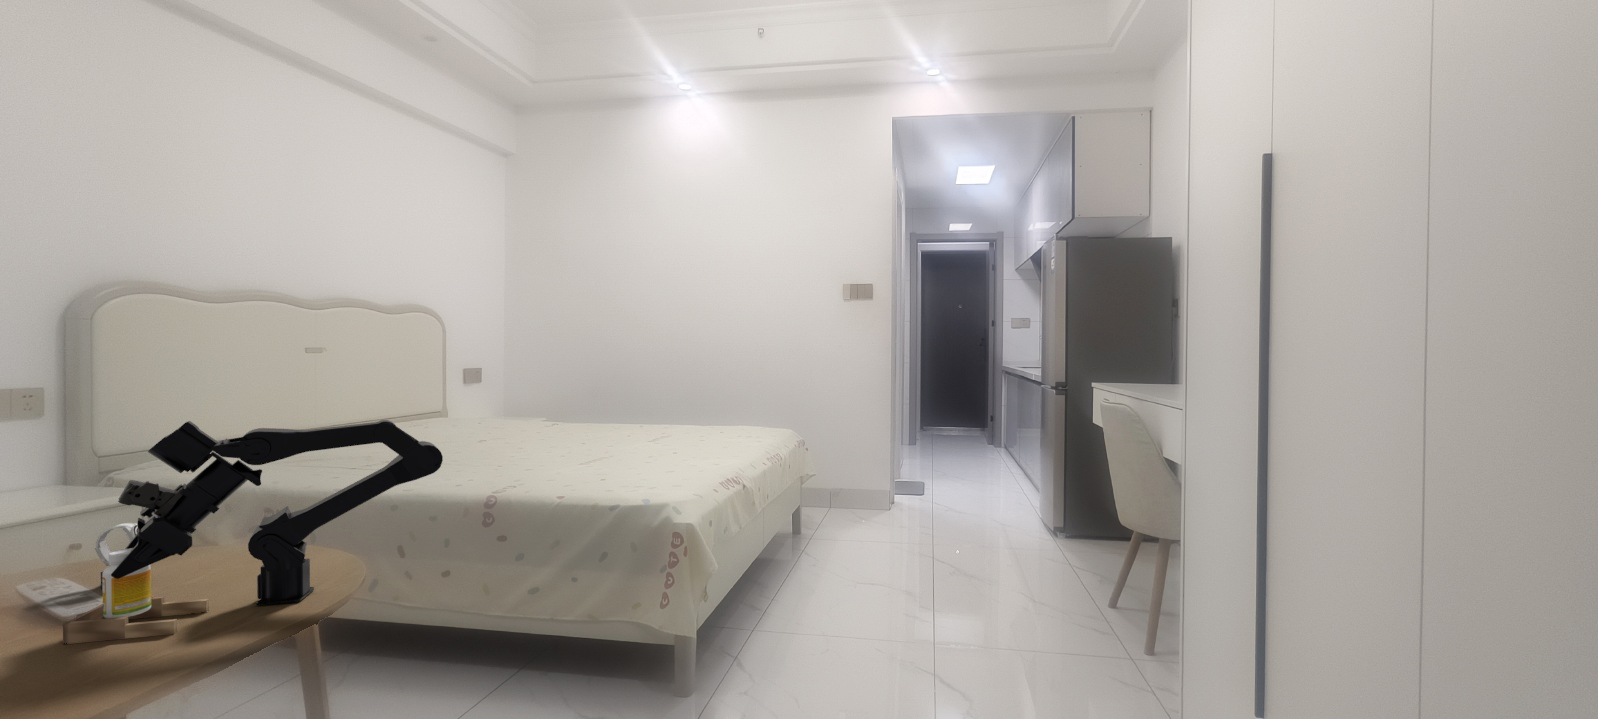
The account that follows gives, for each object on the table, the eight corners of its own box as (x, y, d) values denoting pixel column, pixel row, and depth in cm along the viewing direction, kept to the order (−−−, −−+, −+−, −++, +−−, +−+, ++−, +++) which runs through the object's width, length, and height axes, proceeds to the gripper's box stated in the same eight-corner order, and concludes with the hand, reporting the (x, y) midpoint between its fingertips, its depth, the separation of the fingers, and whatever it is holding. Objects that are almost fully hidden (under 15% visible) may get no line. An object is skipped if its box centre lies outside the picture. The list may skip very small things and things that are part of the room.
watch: (144, 585, 125) (143, 526, 125) (88, 590, 123) (87, 529, 122) (161, 575, 130) (161, 518, 130) (108, 580, 128) (108, 522, 128)
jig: (209, 610, 113) (209, 592, 113) (174, 633, 104) (173, 614, 104) (108, 619, 110) (108, 600, 109) (63, 644, 100) (62, 624, 100)
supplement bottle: (161, 606, 109) (160, 546, 108) (124, 620, 103) (123, 556, 103) (130, 605, 109) (129, 545, 109) (92, 619, 104) (91, 555, 104)
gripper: (158, 454, 115) (63, 531, 108) (161, 468, 102) (53, 557, 94) (219, 493, 121) (134, 569, 113) (230, 511, 108) (134, 599, 100)
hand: (114, 572), depth 105 cm, fingers closed on supplement bottle, 5 cm apart
